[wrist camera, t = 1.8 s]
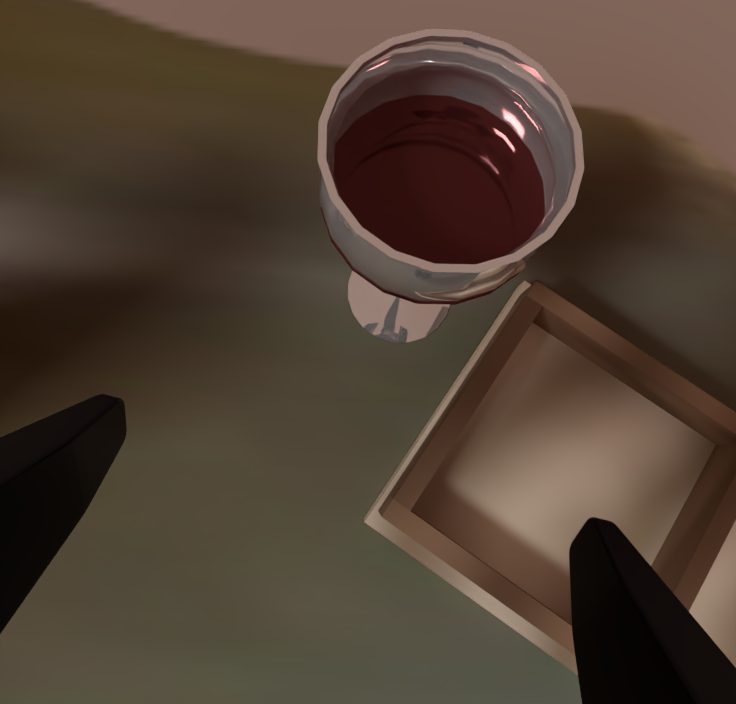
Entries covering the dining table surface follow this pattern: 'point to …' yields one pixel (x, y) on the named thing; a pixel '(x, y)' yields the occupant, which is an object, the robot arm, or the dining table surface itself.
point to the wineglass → (442, 173)
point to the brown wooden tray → (568, 473)
